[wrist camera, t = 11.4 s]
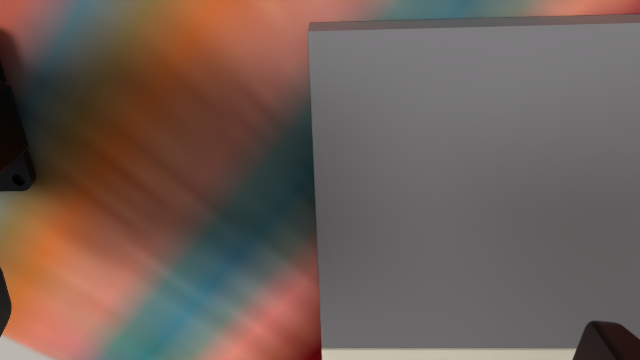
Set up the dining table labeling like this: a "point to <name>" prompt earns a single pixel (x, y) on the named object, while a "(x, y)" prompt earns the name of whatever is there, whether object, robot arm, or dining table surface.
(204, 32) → the dining table surface
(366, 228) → the subfloor board
